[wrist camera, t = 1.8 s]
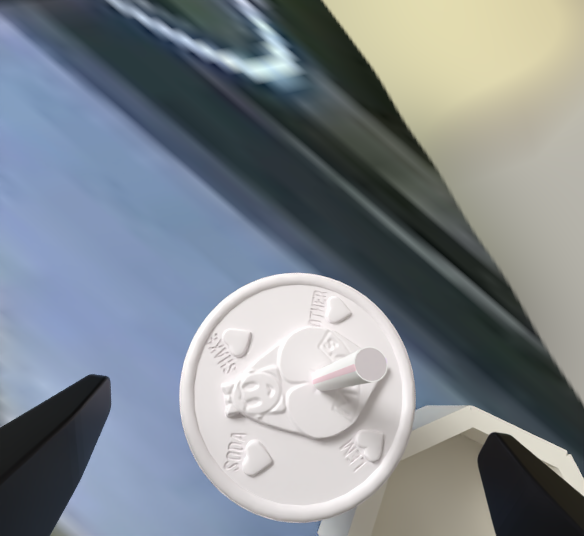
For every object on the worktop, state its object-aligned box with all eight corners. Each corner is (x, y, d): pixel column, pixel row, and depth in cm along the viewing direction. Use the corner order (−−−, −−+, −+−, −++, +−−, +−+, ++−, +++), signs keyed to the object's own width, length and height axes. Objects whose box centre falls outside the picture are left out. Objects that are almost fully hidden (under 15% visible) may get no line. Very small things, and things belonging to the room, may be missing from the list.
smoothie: (353, 448, 19) (601, 549, 6) (221, 481, 18) (142, 704, 4) (322, 320, 21) (452, 172, 8) (202, 343, 20) (109, 218, 6)
